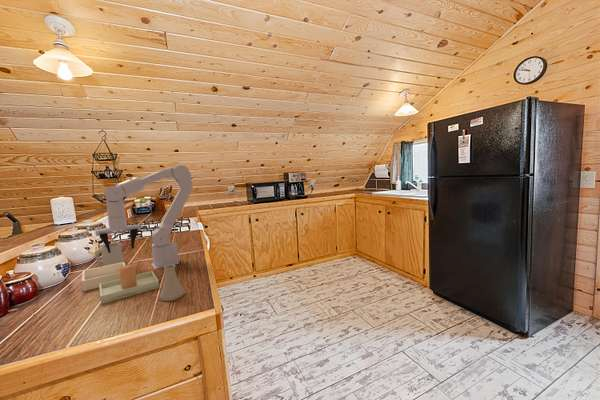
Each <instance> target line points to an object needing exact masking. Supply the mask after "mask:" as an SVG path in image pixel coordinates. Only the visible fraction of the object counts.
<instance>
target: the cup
mask: <svg viewBox="0 0 600 400" xmlns="http://www.w3.org/2000/svg"><path fill="white" fill-rule="evenodd" d="M109 247H110V251H111V253H108V250H107V247H106V245H105V244H104V245H102V246H100V248H98V249H97V250H96V251H95V253H94V259H95V261H96V262H97V263H98V264H100V265H101V264H102V266H107V265H111V264H116V263H121V262H124V257H123V249H122V243H120V242H115V243H114V242H113V243H109ZM100 254H101V257H100Z"/></svg>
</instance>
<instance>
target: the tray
mask: <svg viewBox="0 0 600 400" xmlns="http://www.w3.org/2000/svg"><path fill="white" fill-rule="evenodd" d="M136 280H137V286H135V287H131V288H128V289H122V286H121V279H117V280H113V281H109V282H105V283H101V284H99V298H100V303H101V305H103V304H107V303H110V302H114V301H117V300H121V299H124V298H128V297H131V296H134V295H138V294H141V293H142V294H143V293H145V292H149V291H152V290H156V289H160V283H159V282H160V281H159V279H158V277H157V276H156V274H155V273H154V271H153V270H151V271H147V272H142V273H138V274H136Z"/></svg>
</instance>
